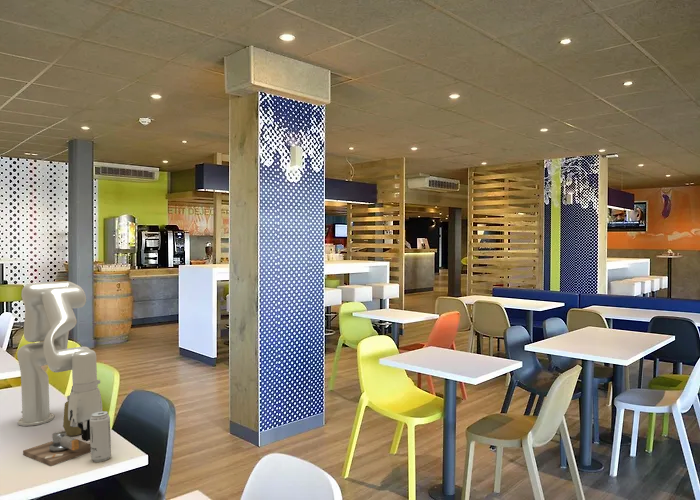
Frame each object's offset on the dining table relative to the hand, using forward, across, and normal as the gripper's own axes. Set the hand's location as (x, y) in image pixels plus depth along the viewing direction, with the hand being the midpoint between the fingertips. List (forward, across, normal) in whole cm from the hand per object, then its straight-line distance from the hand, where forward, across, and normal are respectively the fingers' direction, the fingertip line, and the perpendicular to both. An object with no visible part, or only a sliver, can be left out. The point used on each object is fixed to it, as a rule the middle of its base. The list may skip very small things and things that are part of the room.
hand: (86, 439), depth 182 cm
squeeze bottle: (+4, -7, -20) cm, 21 cm away
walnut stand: (+4, +6, -6) cm, 10 cm away
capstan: (+2, +6, -3) cm, 7 cm away
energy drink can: (+4, +2, +12) cm, 12 cm away
